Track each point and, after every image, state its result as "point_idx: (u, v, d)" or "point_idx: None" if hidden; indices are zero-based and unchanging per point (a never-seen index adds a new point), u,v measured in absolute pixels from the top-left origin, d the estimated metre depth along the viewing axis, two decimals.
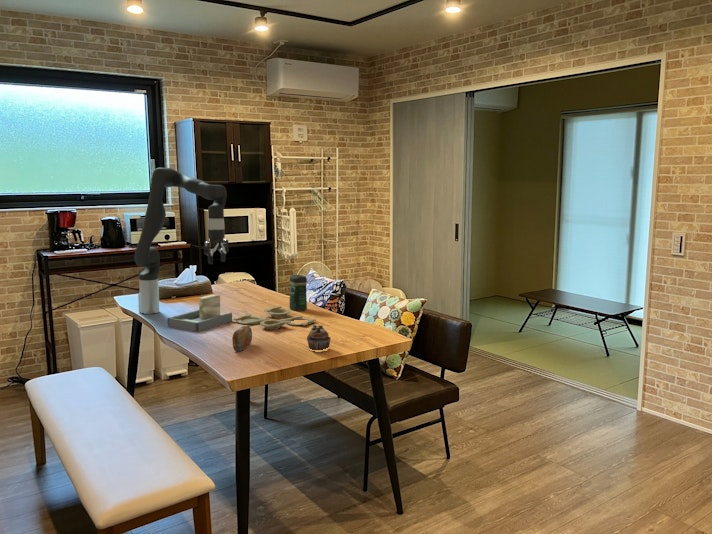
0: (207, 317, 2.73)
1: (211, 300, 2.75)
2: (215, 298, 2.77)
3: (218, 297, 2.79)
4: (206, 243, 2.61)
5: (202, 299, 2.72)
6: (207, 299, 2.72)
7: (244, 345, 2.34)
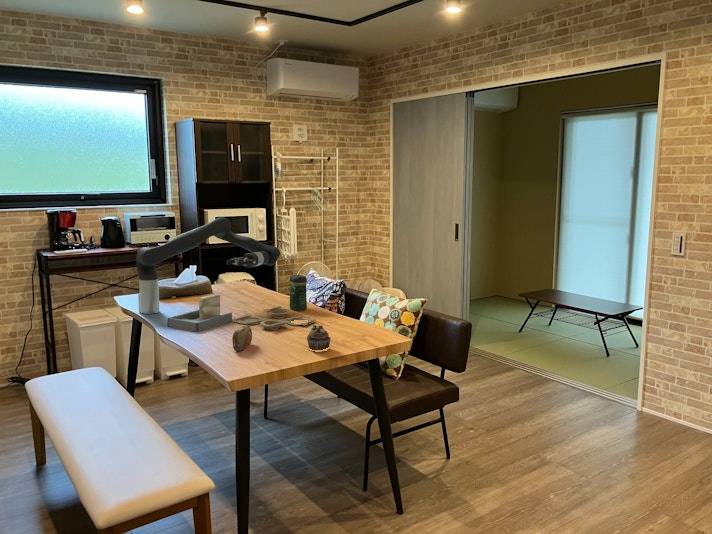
0: (207, 317, 2.73)
1: (211, 300, 2.75)
2: (215, 298, 2.77)
3: (218, 297, 2.79)
4: (255, 262, 2.94)
5: (202, 299, 2.72)
6: (207, 299, 2.72)
7: (244, 345, 2.34)
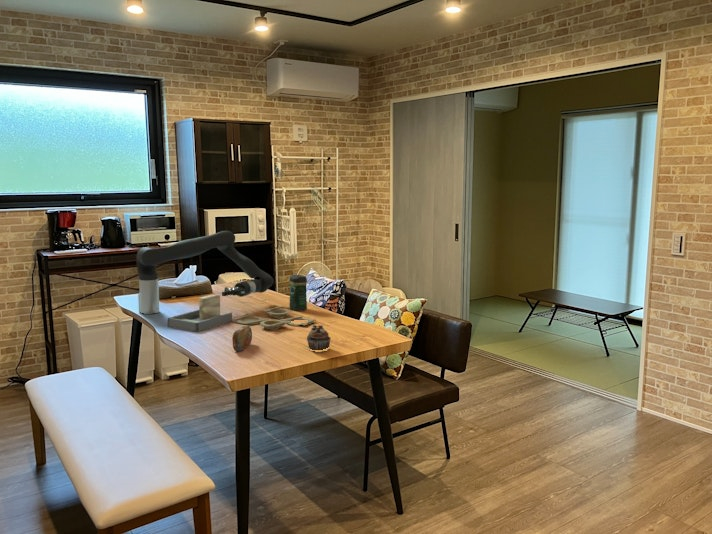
0: (207, 317, 2.73)
1: (211, 300, 2.75)
2: (215, 298, 2.77)
3: (218, 297, 2.79)
4: (243, 292, 2.89)
5: (202, 299, 2.72)
6: (207, 299, 2.72)
7: (244, 345, 2.34)
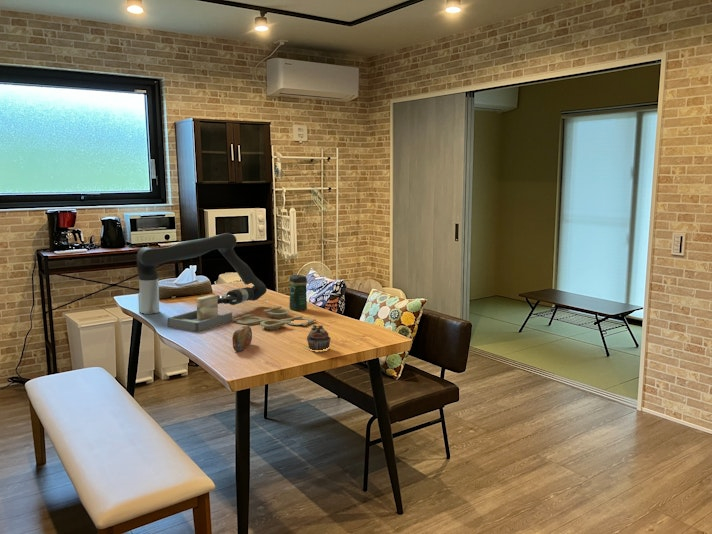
0: (205, 318, 2.72)
1: (209, 301, 2.73)
2: (213, 299, 2.76)
3: (216, 298, 2.77)
4: (235, 300, 2.84)
5: (200, 300, 2.70)
6: (205, 300, 2.71)
7: (244, 345, 2.34)
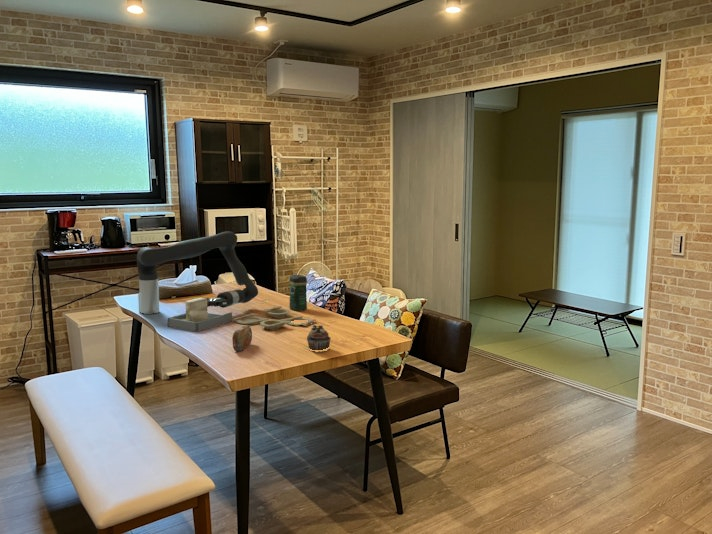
0: (194, 321, 2.65)
1: (198, 303, 2.67)
2: (202, 301, 2.69)
3: (205, 300, 2.71)
4: (225, 303, 2.78)
5: (188, 302, 2.64)
6: (194, 302, 2.64)
7: (244, 345, 2.34)
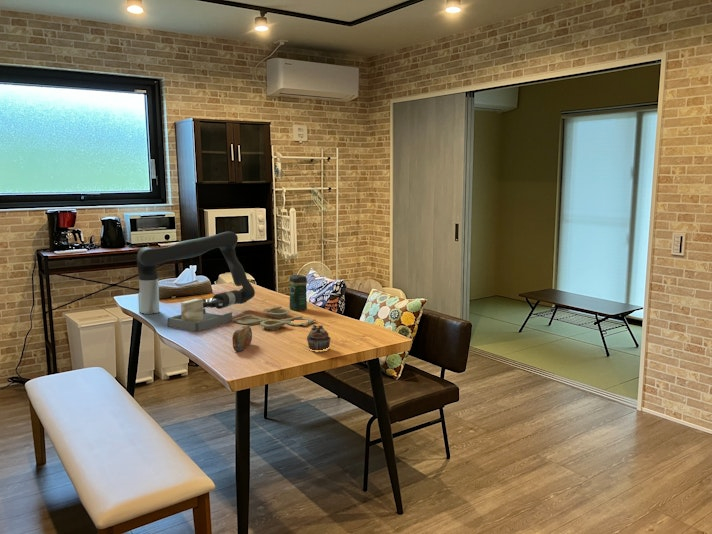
0: None
1: (194, 305, 2.64)
2: (198, 302, 2.67)
3: (201, 301, 2.68)
4: (221, 304, 2.75)
5: (184, 304, 2.61)
6: (189, 304, 2.62)
7: (244, 345, 2.34)
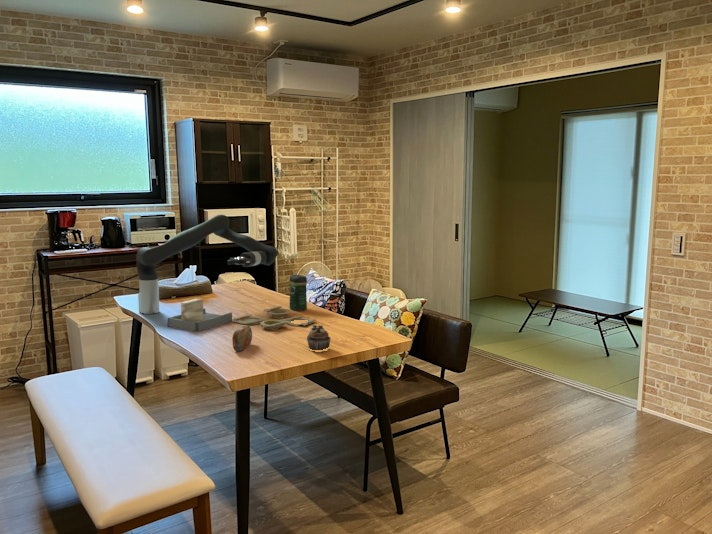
0: None
1: (194, 305, 2.64)
2: (198, 302, 2.67)
3: (201, 301, 2.68)
4: (248, 262, 2.91)
5: (184, 304, 2.61)
6: (189, 304, 2.62)
7: (244, 345, 2.34)
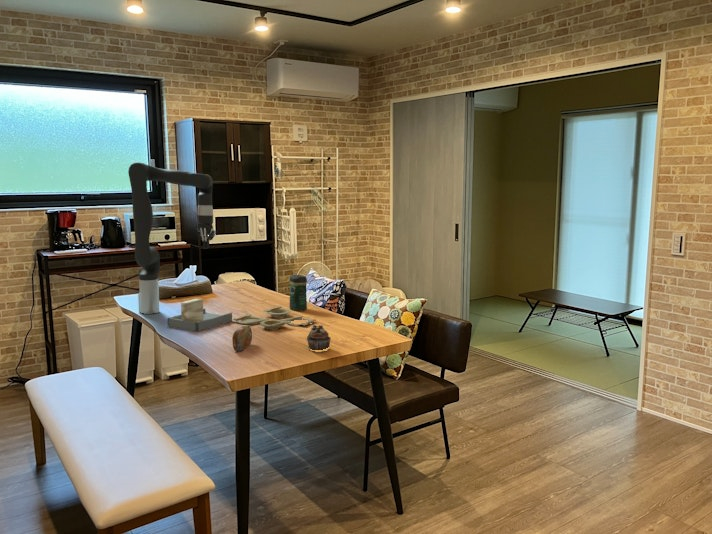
0: None
1: (194, 305, 2.64)
2: (198, 302, 2.67)
3: (201, 301, 2.68)
4: (214, 232, 2.88)
5: (184, 304, 2.61)
6: (189, 304, 2.62)
7: (244, 345, 2.34)
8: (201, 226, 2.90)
